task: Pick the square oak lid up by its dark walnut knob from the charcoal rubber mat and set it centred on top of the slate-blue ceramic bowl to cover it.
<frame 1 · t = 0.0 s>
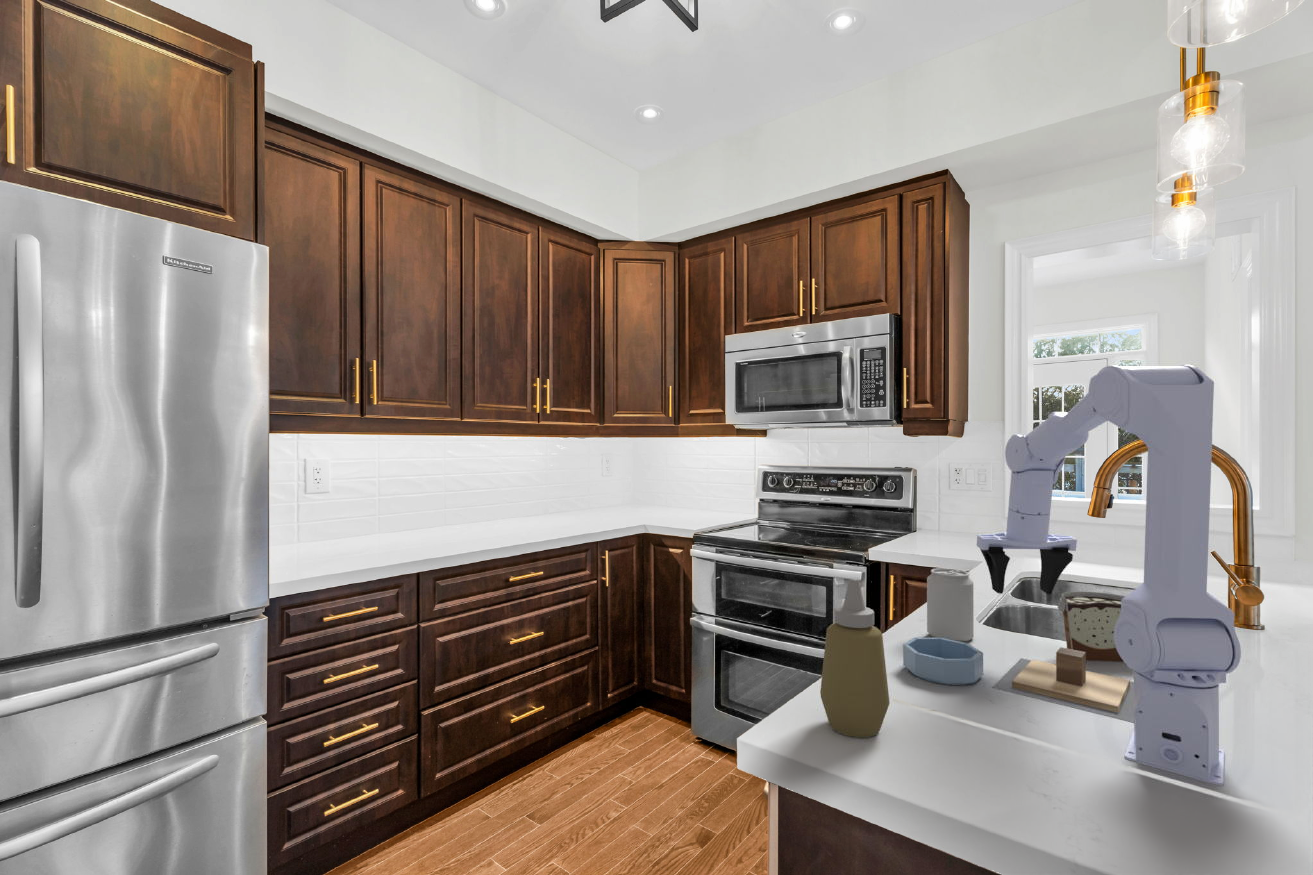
hand: (1021, 591, 100), 11 cm above the worktop, tool pointing down, fingers open, 7 cm apart
lid: (1071, 686, 87), on the worktop, touching mat
mat: (1071, 689, 87), on the worktop
bowl: (942, 675, 92), on the worktop
can: (950, 639, 109), on the worktop
food container: (1092, 658, 100), on the worktop
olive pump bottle: (854, 729, 75), on the worktop
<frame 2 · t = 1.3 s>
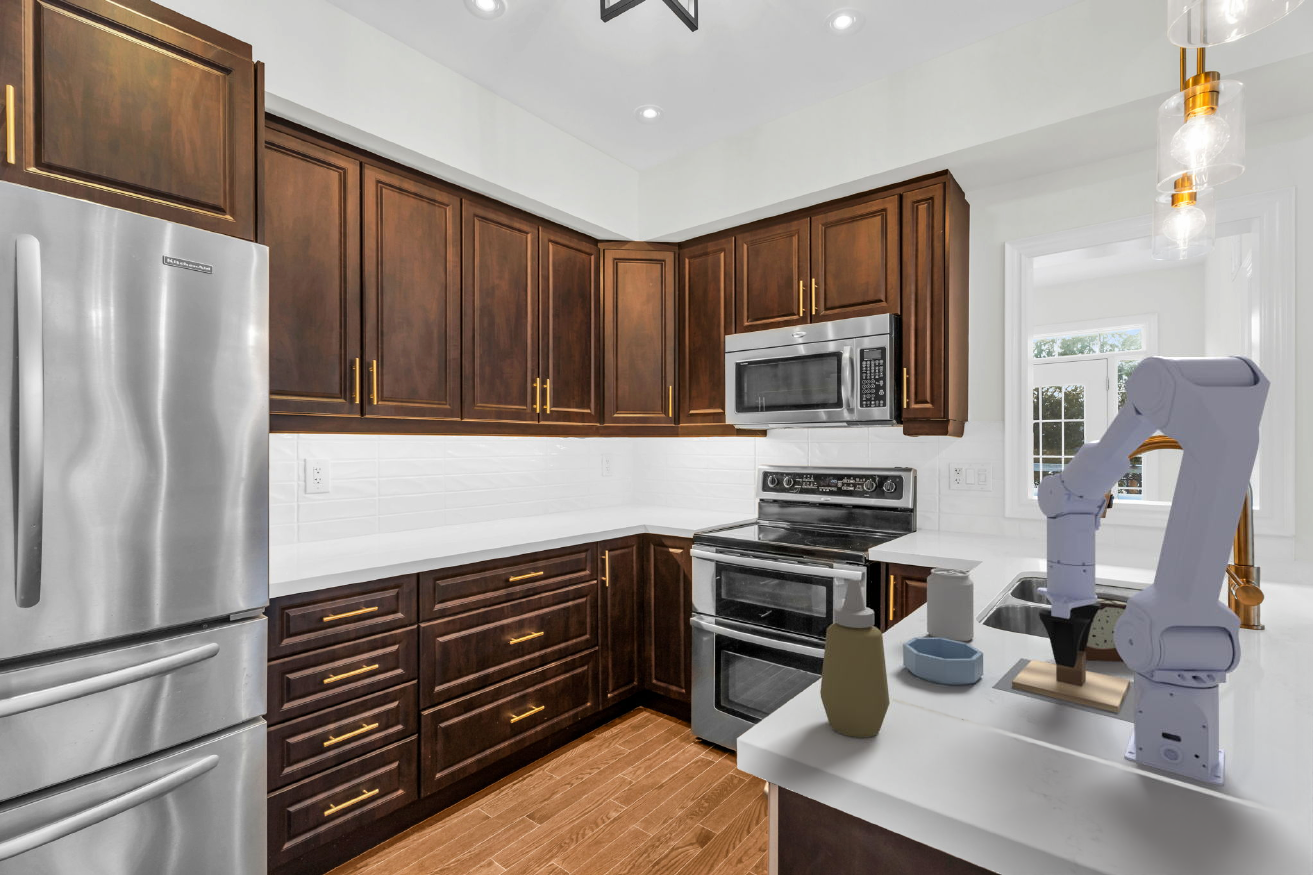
hand: (1070, 658, 87), 4 cm above the worktop, tool pointing down, fingers open, 7 cm apart
nothing on the worktop moved.
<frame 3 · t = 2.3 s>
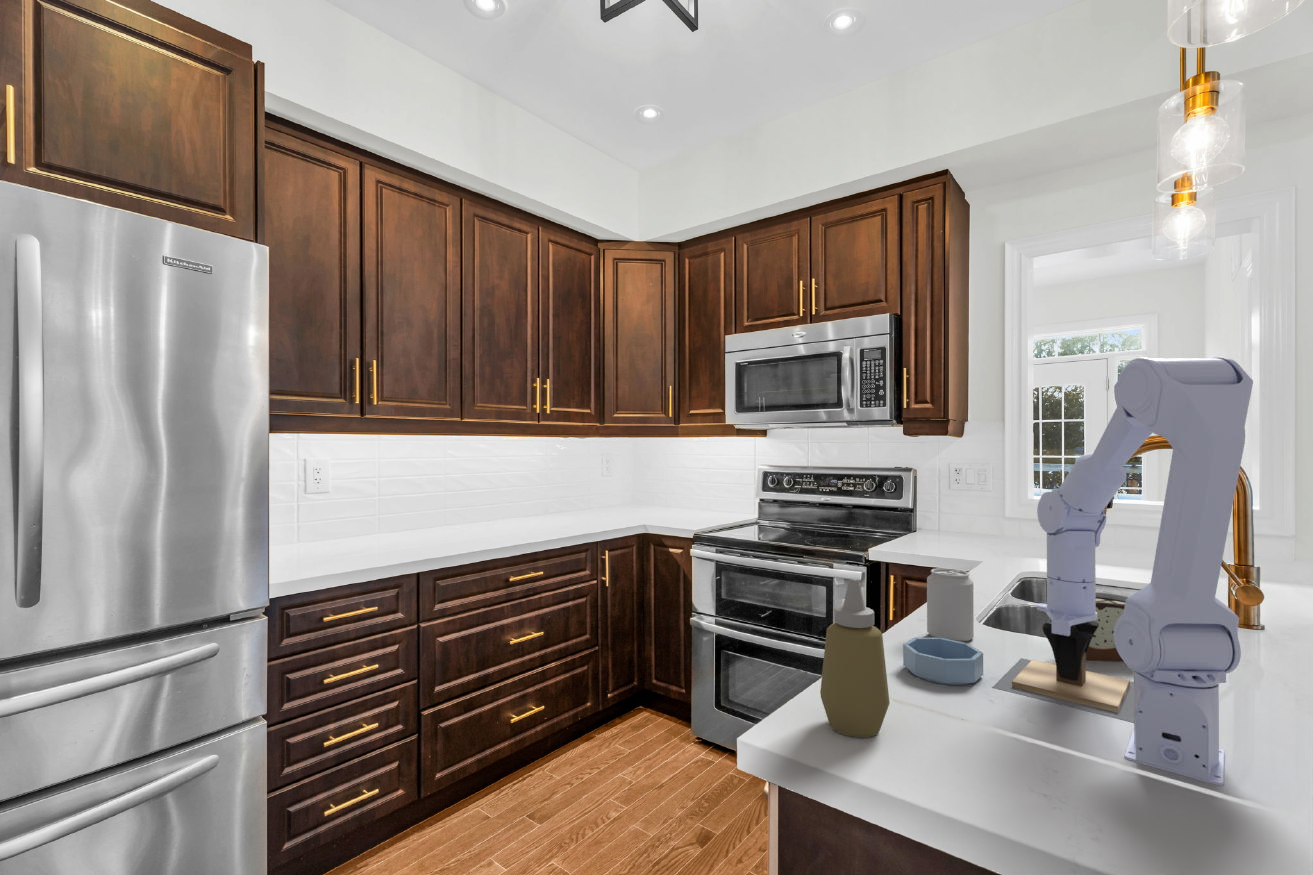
hand: (1071, 674, 87), 2 cm above the worktop, tool pointing down, fingers closed on lid, 3 cm apart
lid: (1071, 686, 87), on the worktop, touching gripper, mat
everything else where it was.
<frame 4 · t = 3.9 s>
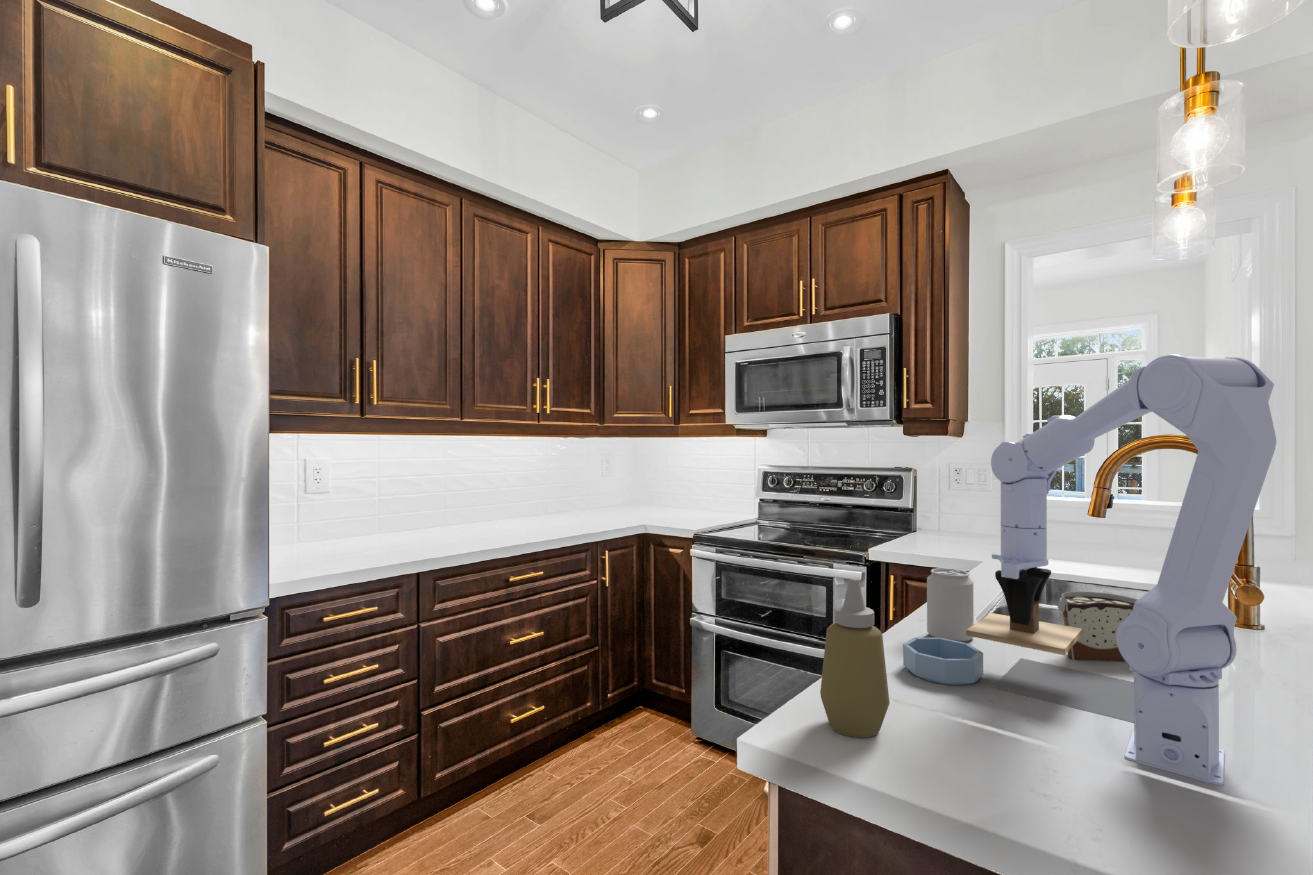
hand: (1023, 620, 89), 9 cm above the worktop, tool pointing down, fingers closed on lid, 3 cm apart
lid: (1024, 634, 89), point 7 cm above the worktop, touching gripper
everything else where it was.
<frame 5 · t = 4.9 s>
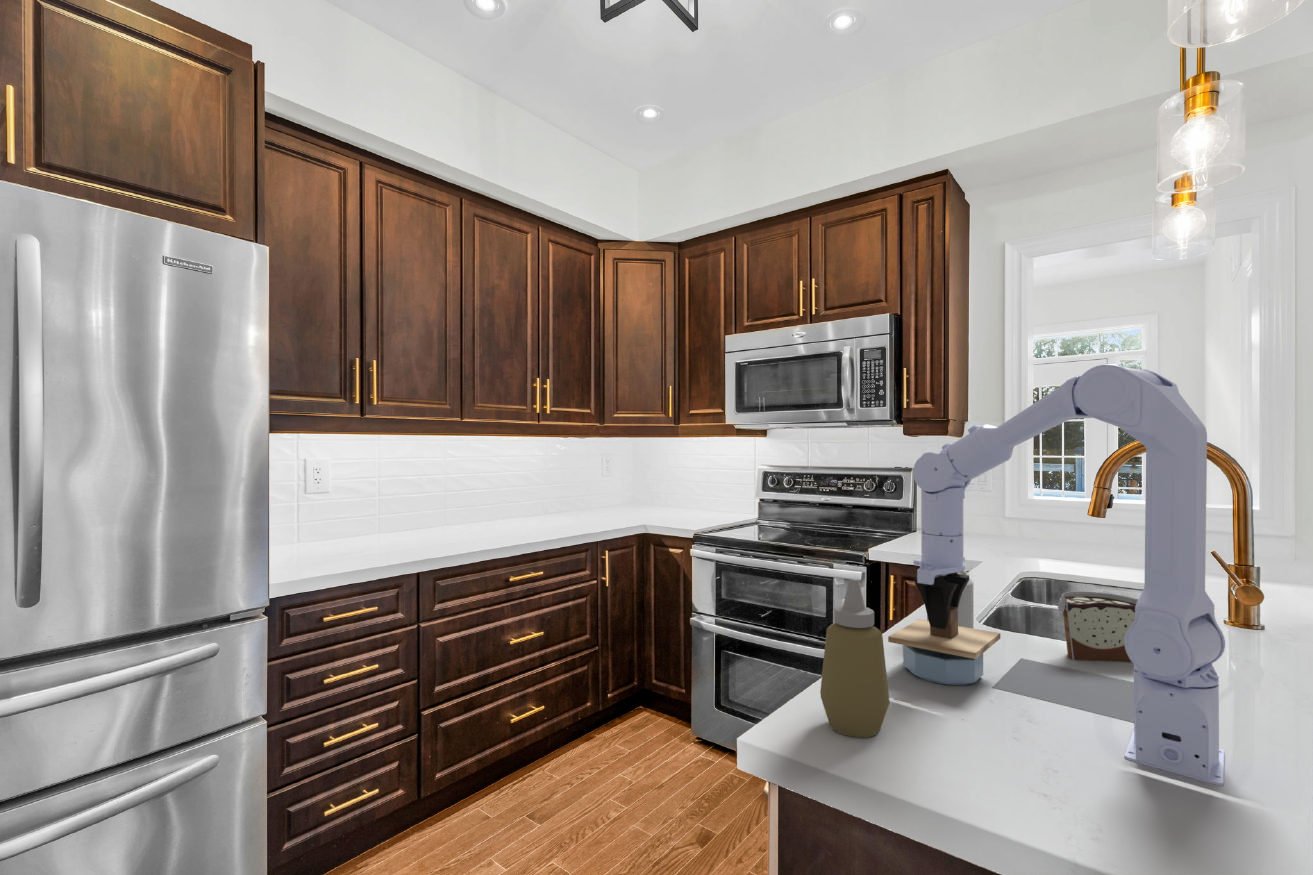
hand: (942, 624, 92), 8 cm above the worktop, tool pointing down, fingers closed on lid, 3 cm apart
lid: (944, 640, 92), point 5 cm above the worktop, touching gripper
everything else where it was.
when the fingers open (7 cm above the worktop, at t = 5.4 s): lid stays where it is, resting on bowl.
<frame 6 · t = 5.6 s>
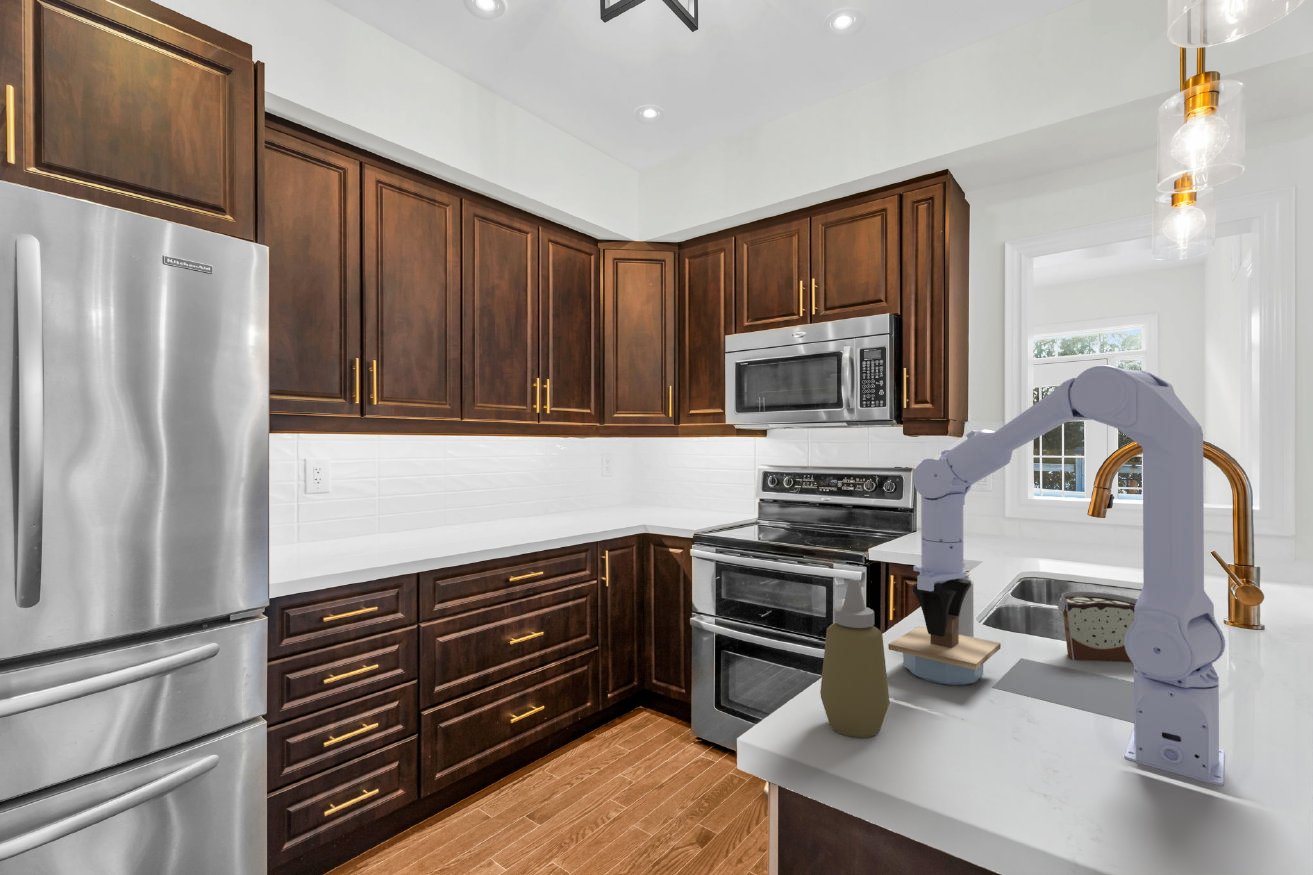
hand: (942, 630, 92), 7 cm above the worktop, tool pointing down, fingers open, 5 cm apart
lid: (944, 648, 92), point 4 cm above the worktop, touching bowl
everything else where it was.
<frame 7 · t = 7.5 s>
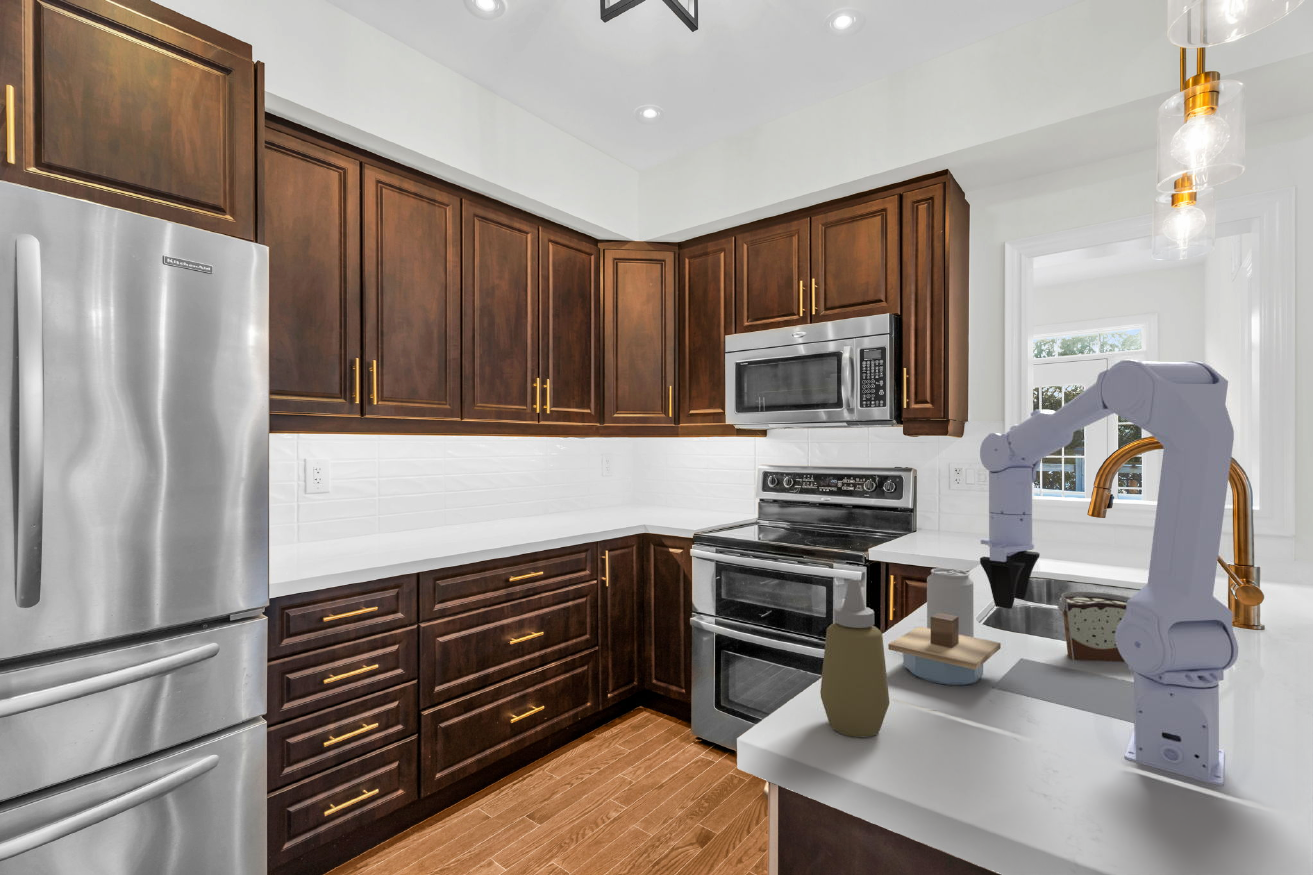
hand: (1010, 602, 94), 10 cm above the worktop, tool pointing down, fingers open, 7 cm apart
nothing on the worktop moved.
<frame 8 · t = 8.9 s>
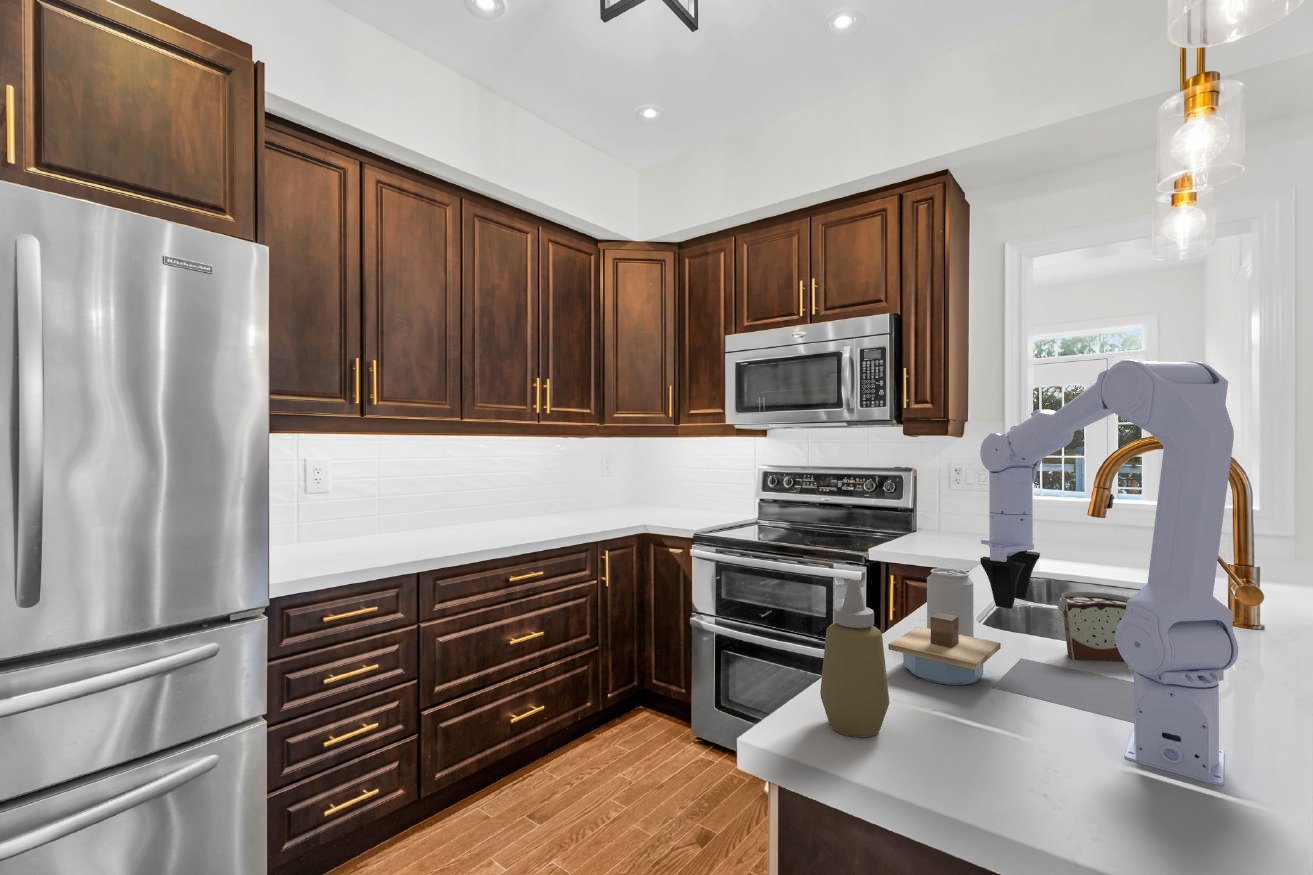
hand: (1010, 602, 94), 10 cm above the worktop, tool pointing down, fingers open, 7 cm apart
nothing on the worktop moved.
at the end: lid 0.3 cm off-centre on the bowl, point 4.0 cm above the bowl's base; lid tilted 0°; the gripper is holding nothing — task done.
